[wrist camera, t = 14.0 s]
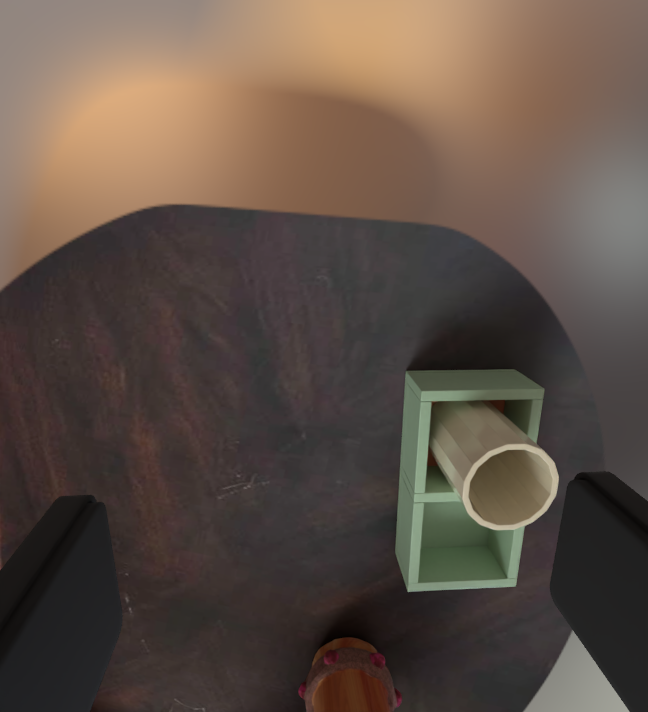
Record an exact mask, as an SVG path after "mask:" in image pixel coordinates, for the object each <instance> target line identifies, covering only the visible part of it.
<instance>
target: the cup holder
mask: <svg viewBox="0 0 648 712" xmlns="http://www.w3.org/2000/svg"><path fill="white" fill-rule="evenodd" d="M544 390H545V389H544V388H542V387H541V386H539V385H538V384H536V383H535V382H533V381H532V380H530V379H529V378H527V377H526V376H524V375H523V374H521V373H520V372H518V371H516V370H515V369H496V370H426V371H406V376H405V393H404V410H403V427H402V444H401V461H400V478H399V495H398V512H397V529H396V546H395V553H396V556H397V560H398V563H399V566H400V569H401V572H402V575H403V579H404V582H405V585H406V588H407V591H408V592H411V591H432V590H453V589H474V588H494V587H515V586H516V581H517V575H518V568H519V561H520V554H521V547H522V540H523V534H524V527H525V526H522V527H520V528H517V529H514V530H494V529H491V528H488V527H485V526H482V525H480V524H478V523H477V522H476V521H475V520H474V519H473V518H472V517H471V516H470V515H469V514H468V513H467V511H466V510H465V508H464V506H463V505H462V503H461V501H460V500H459V498H458V497H457V495H456V493H455V492H454V490H453V488H452V487H451V485H450V483H449V482H448V480H447V479H446V477H445V475H444V474H443V472H442V470H441V469H440V467H439V466H438V464H437V462H436V461H435V459H434V457H433V456H432V454H431V452H430V451H429V449H428V445H429V431H430V418H431V407H432V406H433V405H434V404H435V403H436V402H437V401H471V400H488V401H489V402H490V403H491V404H493V405H494V406H495V407H496V408H497V409H498V410H499V411H500V412H501V413H503V414H504V415H505V416H506V417H507V418H508V419H509V420H510V421H511V422H513V423H514V424H515V425H516V426H517V427H518V428H519V429H520V430H521V431H523V432H524V433H525V434H526V435H527V436H528V437H529V438H530V439H531V440H533V441H534V442H535V443H536V444H537V437H538V430H539V423H540V416H541V409H542V402H543V396H544Z"/></svg>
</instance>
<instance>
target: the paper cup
mask: <svg viewBox="0 0 648 712" xmlns="http://www.w3.org/2000/svg"><path fill="white" fill-rule="evenodd" d="M428 449H429V451H430V452H431V454H432V456H433V457H434V459H435V461H436V462H437V464H438V466H439V467H440V469H441V470H442V472H443V474H444V475H445V477H446V479H447V480H448V482H449V483H450V485H451V487H452V488H453V490H454V492H455V493H456V495H457V497H458V498H459V500H460V501H461V503H462V505H463V506H464V508H465V510H466V511H467V513H468V514H469V515H470V516H471V517H472V518H473V519H474V520H475V521H476V522H477V523H478V524H480V525H482V526H485V527H488V528H491V529H494V530H514V529H517V528H520V527H522V526H525V525H528V524H530V523H532V522H534V521H535V520H536V519H537V518H539V517H540V516H541V515H542V514H543V513H545V512H546V510H548V508H549V506H550V505H551V503H552V501H553V500H554V498H555V496H556V494H557V488H558V481H559V476H558V473H557V469H556V466H555V462H554V461H553V460H552V459H551V458H550V457H549V456H548V455H547V454H546V452H545V451H544V450H543V449H541V448H540V447H539V446H538V445H537V444H536V443H535V442H534V441H533V440H531V439H530V438H529V437H528V436H527V435H526V434H525V433H524V432H523V431H521V430H520V429H519V428H518V427H517V426H516V425H515V424H514V423H513V422H511V421H510V420H509V419H508V418H507V417H506V416H505V415H504V414H503V413H501V412H500V411H499V410H498V409H497V408H496V407H495V406H494V405H493V404H491V403H490V402H489V401H488V400H471V401H437V402H436V403H435V404H434V405H433V406H432V407H431V418H430V431H429V445H428Z"/></svg>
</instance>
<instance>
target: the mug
mask: <svg viewBox="0 0 648 712" xmlns="http://www.w3.org/2000/svg"><path fill="white" fill-rule="evenodd" d="M299 695H300V697H301V698H302V699H305V704H306V710H307V712H393V711H394V709H395V708H396V707H398V706H399V705H400V704H401V702H402V695H401V693H400V692H399V691H398V690H397V689H396V688H394V687H393V682H392V677H391V675H390V672H389V670H388V668H387V667H386V665H385V658H384V656H383V655H382V654H380V653H378V652H377V650H376V649H375V648H374V647H373V645H371V644H369V643H368V642H365V641H363V640H360V639H357V638H353V637H345V638H339V639H334V640H333V641H331V642H329V643H327V644H325V645H324V646H322V647H321V648H320V649H319V650H318V651H317V653H316V654H315V657H314V659H313V662H312V668H311V670H310V672H309V674H308V676H307V678H306V680H305V682H303V683H302V684H301V686H300V688H299Z"/></svg>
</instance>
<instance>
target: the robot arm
mask: <svg viewBox="0 0 648 712" xmlns="http://www.w3.org/2000/svg"><path fill="white" fill-rule="evenodd" d="M550 592H551V596H552V599H553V601H554V603H555V605H556V606H557V608H558V609H559V611H560V612H561V614H562V615H563V616H564V618H565V619H566V621H567V622H568V624H569V625H570V626H571V628H572V629H573V631H574V632H575V634H576V635H577V636H578V638H579V639H580V641H581V642H582V644H583V645H584V647H585V648H586V649H587V651H588V652H589V654H590V655H591V657H592V658H593V659H594V661H595V662H596V664H597V665H598V667H599V668H600V669H601V671H602V672H603V674H604V675H605V677H606V678H607V680H608V681H609V682H610V684H611V685H612V687H613V688H614V690H615V691H616V692H617V694H618V695H619V697H620V698H621V700H622V701H623V702H624V704H625V705H626V707H627V708H628V710H629V711H630V712H648V501H647V500H645V499H644V498H643V497H641V496H640V495H639V494H638V493H636V492H635V491H634V490H633V489H631V488H630V487H629V486H627V485H626V484H625V483H624V482H622V481H621V480H620V479H619V478H617V477H616V476H615V475H614V474H612V473H610V472H605V471H604V472H582V473H579V474H577V475H576V477H575V478H574V480H572V481H570V482H569V484H568V486H567V491H566V497H565V503H564V508H563V514H562V519H561V525H560V531H559V536H558V542H557V548H556V553H555V559H554V564H553V570H552V576H551V581H550ZM121 626H122V608H121V601H120V595H119V589H118V582H117V576H116V569H115V563H114V557H113V550H112V544H111V537H110V531H109V525H108V518H107V512H106V507H105V505H104V503H102V502H96V499H95V497H94V496H92V495H78V496H61V497H59V498H58V499H56V500H55V502H54V503H53V504H52V506H51V507H50V508H49V509H48V511H47V512H46V513H45V514H44V516H43V517H42V518H41V520H40V521H39V522H38V523H37V525H36V526H35V527H34V528H33V530H32V531H31V532H30V534H29V535H28V536H27V537H26V539H25V540H24V541H23V542H22V544H21V545H20V546H19V547H18V549H17V550H16V551H15V553H14V554H13V555H12V556H11V558H10V559H9V560H8V561H7V563H6V564H5V565H4V567H3V568H2V569H1V570H0V712H90V710H91V707H92V705H93V702H94V700H95V697H96V694H97V692H98V689H99V687H100V684H101V681H102V679H103V676H104V674H105V671H106V668H107V666H108V663H109V661H110V658H111V655H112V653H113V650H114V648H115V645H116V642H117V640H118V637H119V634H120V631H121Z"/></svg>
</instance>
